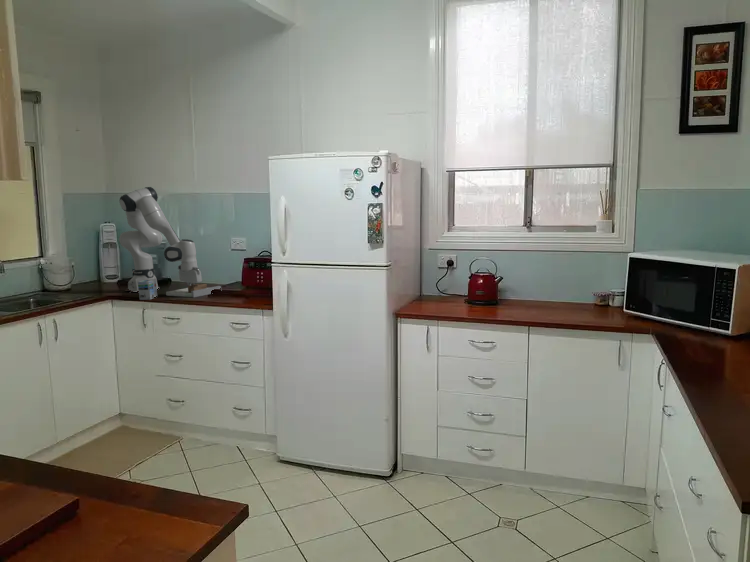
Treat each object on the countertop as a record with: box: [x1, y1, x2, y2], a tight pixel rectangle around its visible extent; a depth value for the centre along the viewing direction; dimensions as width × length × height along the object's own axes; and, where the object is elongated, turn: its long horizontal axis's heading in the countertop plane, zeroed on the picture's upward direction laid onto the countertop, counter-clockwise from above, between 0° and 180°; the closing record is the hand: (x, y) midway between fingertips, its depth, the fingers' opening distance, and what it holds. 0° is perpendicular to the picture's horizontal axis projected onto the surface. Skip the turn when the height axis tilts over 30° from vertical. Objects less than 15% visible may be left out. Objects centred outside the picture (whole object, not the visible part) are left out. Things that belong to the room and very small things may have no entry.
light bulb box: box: [138, 278, 158, 301], centre depth 338 cm, size 11×7×11 cm, turn 179°
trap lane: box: [165, 285, 222, 298], centre depth 349 cm, size 25×21×4 cm
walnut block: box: [187, 283, 208, 293], centre depth 342 cm, size 5×10×4 cm, turn 151°
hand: (191, 289), depth 344 cm, fingers closed
